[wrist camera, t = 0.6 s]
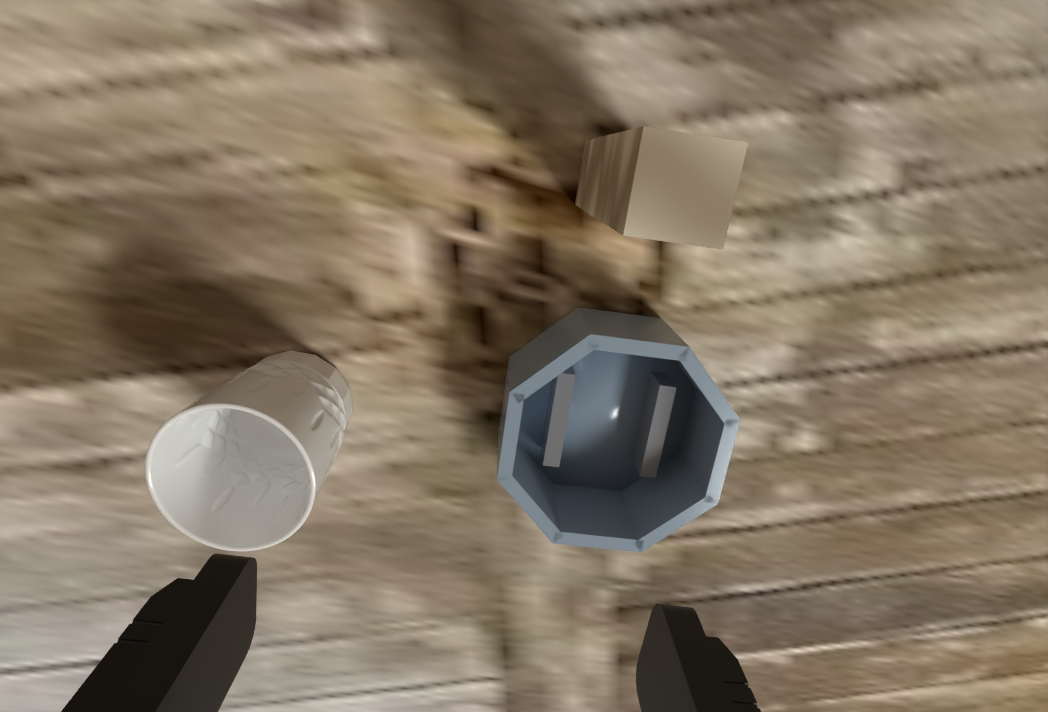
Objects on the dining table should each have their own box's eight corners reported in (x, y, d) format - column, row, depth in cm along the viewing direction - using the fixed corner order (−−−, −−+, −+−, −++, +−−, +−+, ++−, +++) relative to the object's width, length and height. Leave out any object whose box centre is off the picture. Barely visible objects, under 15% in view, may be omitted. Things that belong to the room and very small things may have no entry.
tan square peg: (585, 140, 34) (643, 126, 19) (646, 149, 34) (748, 142, 20) (574, 204, 35) (622, 235, 20) (634, 212, 35) (722, 249, 21)
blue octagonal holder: (517, 299, 36) (519, 325, 31) (719, 325, 37) (757, 355, 32) (491, 483, 40) (488, 536, 34) (675, 503, 41) (702, 558, 35)
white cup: (339, 473, 40) (286, 572, 30) (220, 430, 38) (127, 519, 29) (380, 369, 38) (337, 441, 28) (256, 320, 36) (167, 377, 27)
